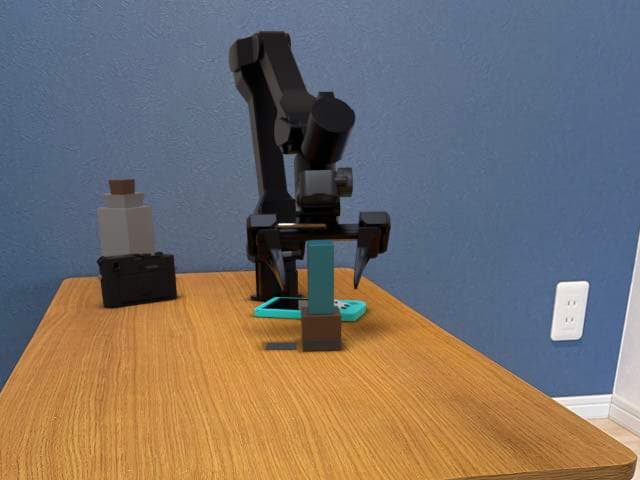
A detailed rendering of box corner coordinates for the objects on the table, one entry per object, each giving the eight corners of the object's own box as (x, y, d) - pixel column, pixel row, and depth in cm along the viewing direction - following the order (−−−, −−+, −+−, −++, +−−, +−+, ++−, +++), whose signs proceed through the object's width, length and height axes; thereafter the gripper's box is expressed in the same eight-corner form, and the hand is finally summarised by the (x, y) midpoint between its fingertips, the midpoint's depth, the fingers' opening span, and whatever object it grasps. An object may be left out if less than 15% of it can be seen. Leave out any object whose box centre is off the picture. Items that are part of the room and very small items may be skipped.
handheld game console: (354, 321, 126) (354, 312, 125) (252, 316, 130) (252, 307, 130) (370, 308, 134) (370, 299, 133) (274, 304, 139) (274, 295, 138)
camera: (165, 292, 150) (161, 244, 146) (184, 298, 145) (180, 249, 141) (88, 303, 143) (82, 253, 139) (105, 309, 138) (99, 258, 134)
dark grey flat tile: (265, 349, 112) (265, 349, 112) (267, 342, 115) (267, 342, 115) (296, 349, 112) (296, 348, 112) (296, 342, 115) (296, 342, 115)
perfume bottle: (158, 283, 158) (148, 178, 150) (133, 289, 153) (122, 181, 145) (130, 280, 162) (120, 178, 154) (105, 286, 157) (93, 180, 149)
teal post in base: (301, 340, 116) (299, 240, 110) (338, 339, 116) (338, 239, 110) (302, 351, 111) (301, 246, 105) (341, 350, 111) (341, 245, 105)
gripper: (243, 145, 107) (244, 250, 102) (391, 142, 107) (399, 246, 103) (247, 206, 118) (249, 303, 113) (382, 203, 118) (389, 300, 113)
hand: (320, 288), depth 110 cm, fingers open, 9 cm apart
